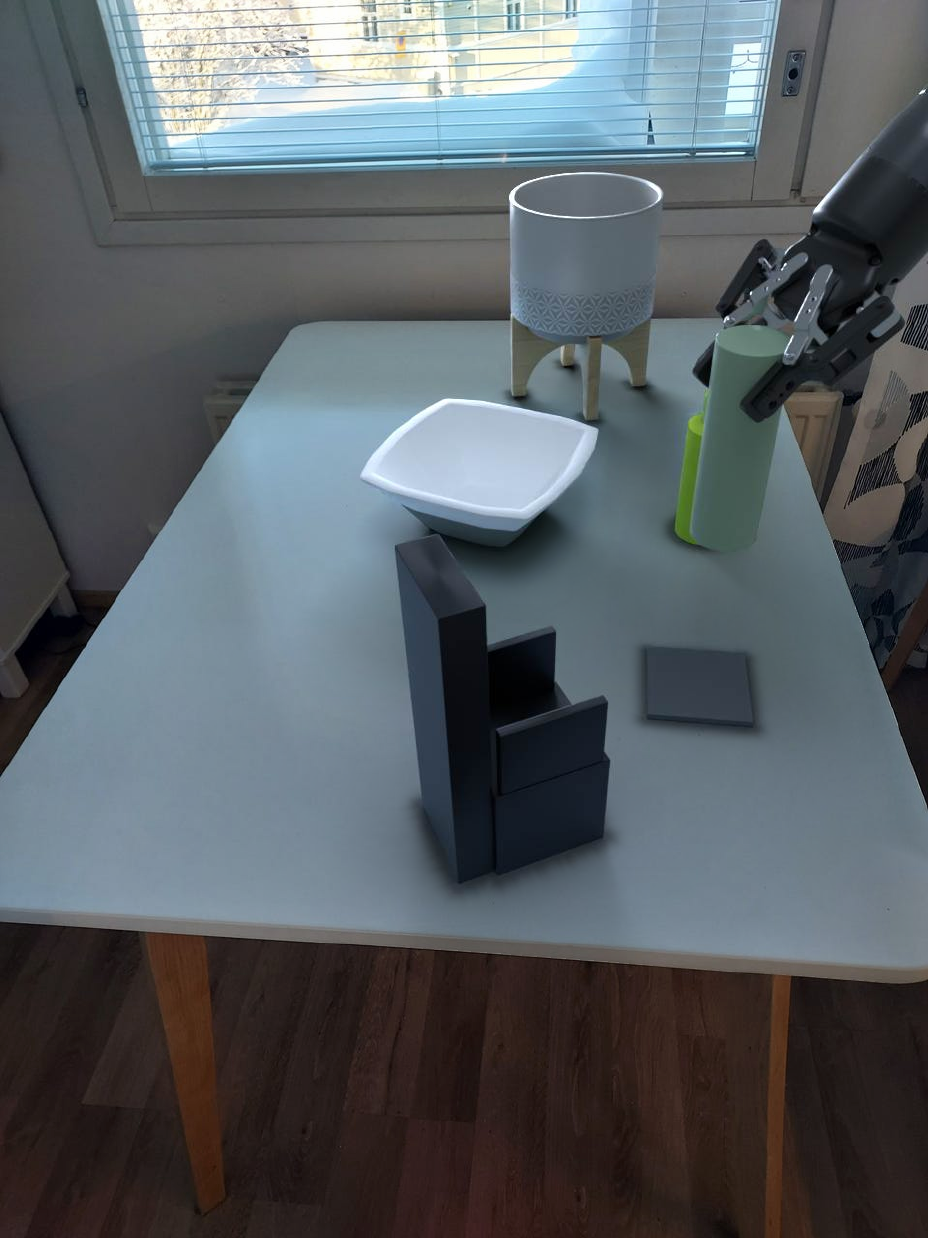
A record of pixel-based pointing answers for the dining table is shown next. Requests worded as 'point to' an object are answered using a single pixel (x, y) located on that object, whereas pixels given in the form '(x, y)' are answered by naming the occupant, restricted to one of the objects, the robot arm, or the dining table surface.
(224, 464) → the dining table surface
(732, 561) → the dining table surface
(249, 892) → the dining table surface
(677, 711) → the coaster
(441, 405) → the bowl
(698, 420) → the soap dispenser
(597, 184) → the planter
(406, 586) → the navy chair block
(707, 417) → the green cylinder
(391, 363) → the dining table surface
